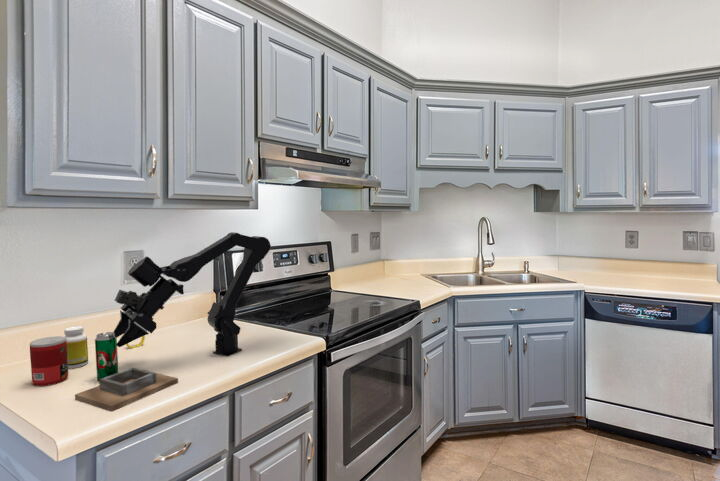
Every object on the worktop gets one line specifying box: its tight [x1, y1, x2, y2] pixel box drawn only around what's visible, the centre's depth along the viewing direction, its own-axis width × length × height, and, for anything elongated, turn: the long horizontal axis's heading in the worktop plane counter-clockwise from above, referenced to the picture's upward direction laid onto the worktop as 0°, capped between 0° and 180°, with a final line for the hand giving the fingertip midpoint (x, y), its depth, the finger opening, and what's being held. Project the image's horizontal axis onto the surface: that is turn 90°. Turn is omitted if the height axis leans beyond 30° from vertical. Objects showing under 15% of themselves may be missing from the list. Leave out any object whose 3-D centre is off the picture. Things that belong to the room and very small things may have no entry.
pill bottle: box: [63, 325, 89, 369], centre depth 128 cm, size 6×6×11 cm
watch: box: [125, 335, 146, 349], centre depth 145 cm, size 6×3×6 cm, turn 142°
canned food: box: [29, 335, 69, 387], centre depth 116 cm, size 8×8×11 cm
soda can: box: [94, 331, 119, 380], centre depth 118 cm, size 5×5×12 cm
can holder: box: [74, 367, 179, 412], centre depth 110 cm, size 18×14×4 cm
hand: (114, 342), depth 119 cm, fingers open, 9 cm apart
